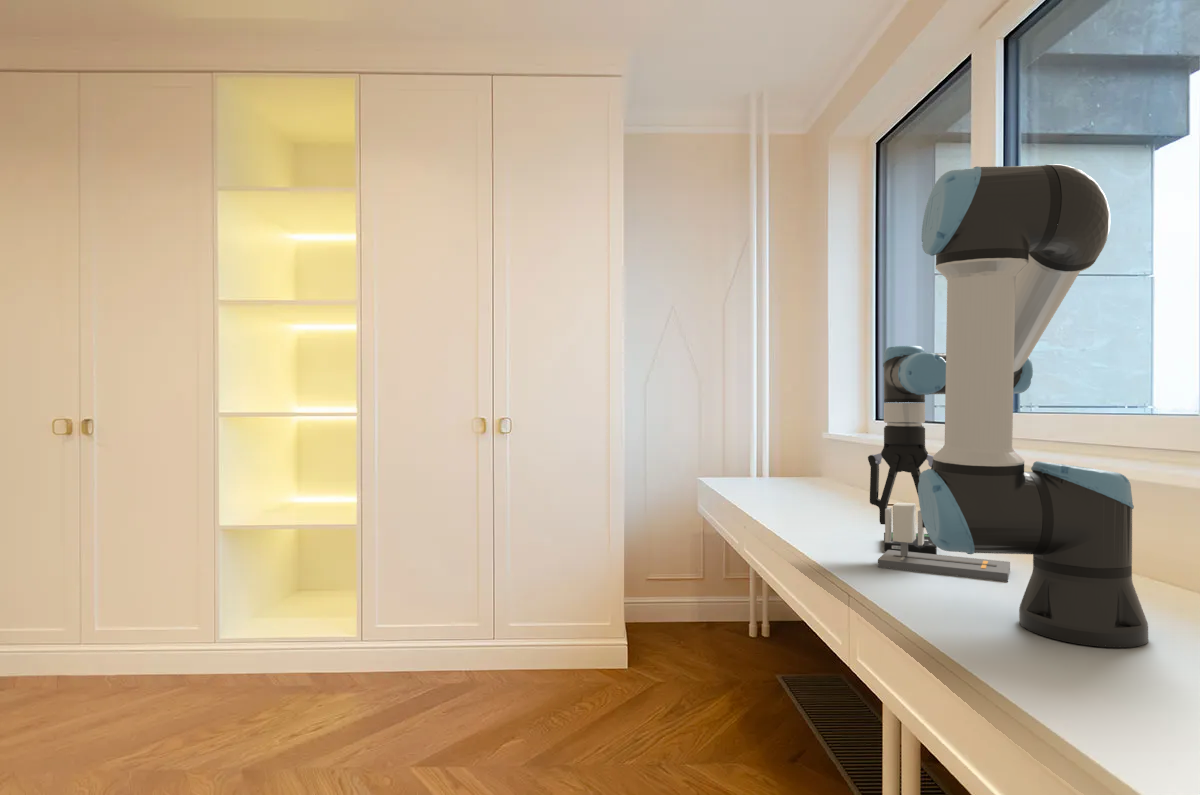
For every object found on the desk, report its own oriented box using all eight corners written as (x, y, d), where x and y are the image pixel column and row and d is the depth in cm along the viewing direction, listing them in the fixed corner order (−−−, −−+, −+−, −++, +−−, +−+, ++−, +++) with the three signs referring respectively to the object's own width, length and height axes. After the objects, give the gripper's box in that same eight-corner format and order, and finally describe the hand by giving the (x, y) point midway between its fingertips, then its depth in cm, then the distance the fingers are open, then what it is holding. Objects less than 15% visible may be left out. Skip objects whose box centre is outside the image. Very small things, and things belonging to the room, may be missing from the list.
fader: (912, 558, 142) (912, 506, 142) (892, 556, 144) (892, 505, 144) (915, 553, 146) (915, 503, 146) (897, 551, 148) (897, 502, 148)
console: (1007, 581, 131) (1007, 572, 131) (877, 567, 142) (877, 559, 142) (1010, 569, 141) (1010, 561, 141) (888, 556, 152) (888, 549, 152)
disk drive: (937, 559, 153) (932, 545, 167) (937, 546, 153) (932, 533, 167) (884, 555, 156) (883, 542, 170) (884, 542, 156) (883, 530, 170)
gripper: (957, 425, 144) (957, 544, 144) (860, 423, 153) (860, 535, 153) (953, 426, 137) (953, 550, 137) (852, 424, 147) (852, 541, 147)
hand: (904, 542), depth 145 cm, fingers open, 5 cm apart
